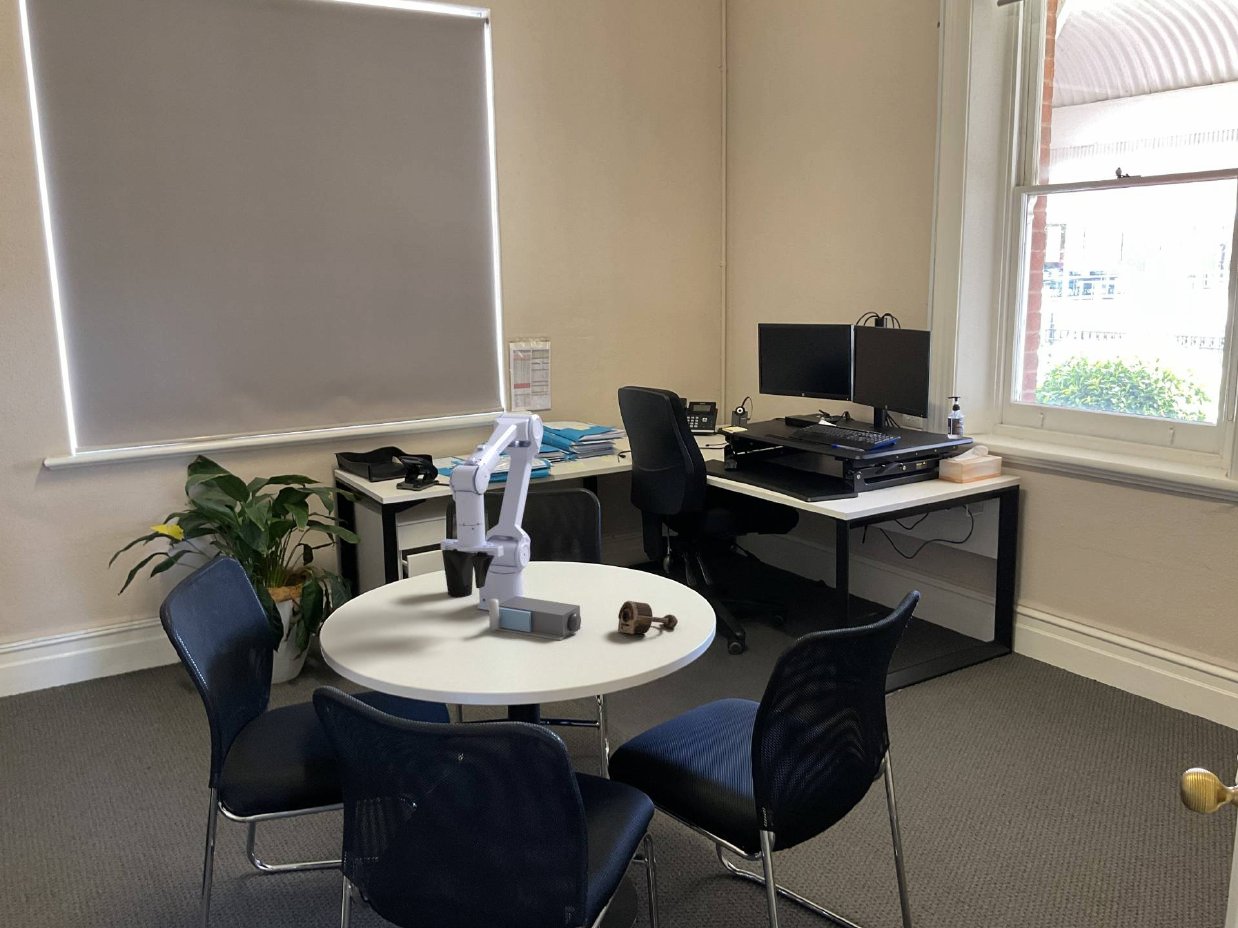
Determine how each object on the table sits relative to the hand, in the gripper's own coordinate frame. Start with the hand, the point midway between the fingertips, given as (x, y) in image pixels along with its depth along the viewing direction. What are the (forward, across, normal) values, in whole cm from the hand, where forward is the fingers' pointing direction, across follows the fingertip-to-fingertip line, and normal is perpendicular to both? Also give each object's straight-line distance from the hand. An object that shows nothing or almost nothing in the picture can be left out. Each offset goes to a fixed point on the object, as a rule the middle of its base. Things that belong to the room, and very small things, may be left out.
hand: (473, 586), depth 207 cm
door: (+9, +8, +1) cm, 12 cm away
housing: (+9, +12, +6) cm, 16 cm away
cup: (+10, -18, +19) cm, 28 cm away
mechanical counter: (+10, +34, +14) cm, 38 cm away
